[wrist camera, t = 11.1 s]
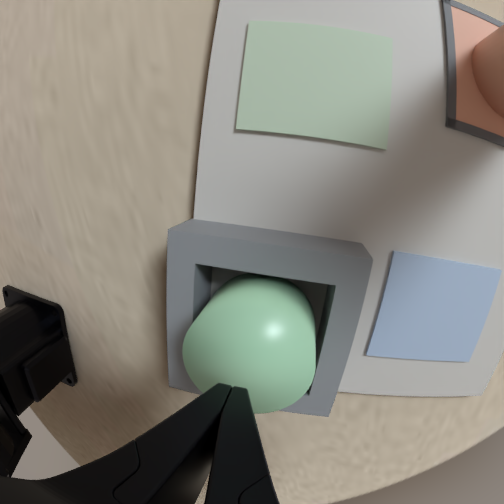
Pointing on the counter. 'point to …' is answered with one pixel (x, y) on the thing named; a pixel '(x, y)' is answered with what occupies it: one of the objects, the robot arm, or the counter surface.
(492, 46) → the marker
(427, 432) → the counter surface
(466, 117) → the grey sorting board
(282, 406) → the button
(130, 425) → the counter surface
